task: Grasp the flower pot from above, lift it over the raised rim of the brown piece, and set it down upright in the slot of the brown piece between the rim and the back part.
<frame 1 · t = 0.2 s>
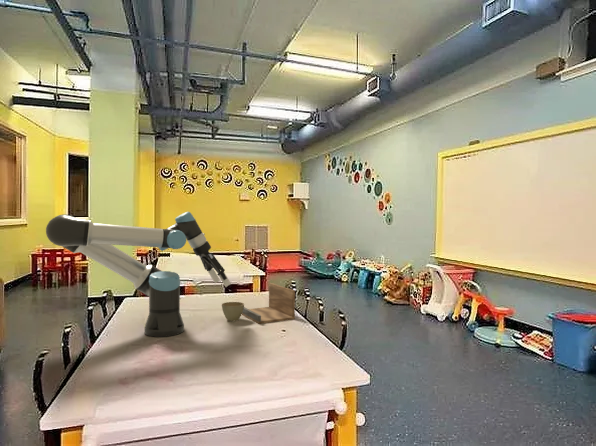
hand: (222, 283, 191), 15 cm above the table, tool tilted 30°, fingers open, 13 cm apart
flower pot: (232, 320, 186), on the table
brown piece: (265, 315, 194), on the table
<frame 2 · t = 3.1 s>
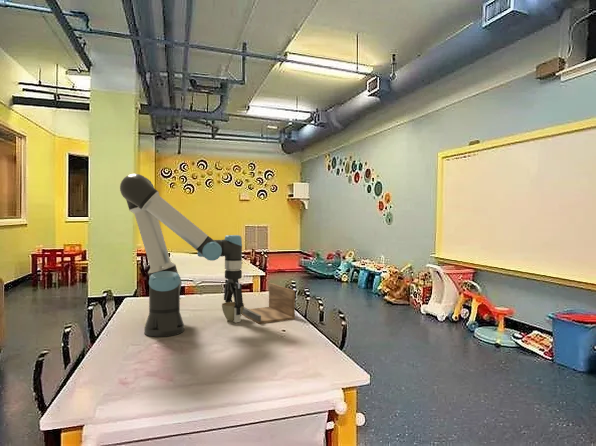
hand: (232, 319, 186), 0 cm above the table, tool pointing down, fingers closed on flower pot, 10 cm apart
flower pot: (232, 320, 186), on the table, touching gripper
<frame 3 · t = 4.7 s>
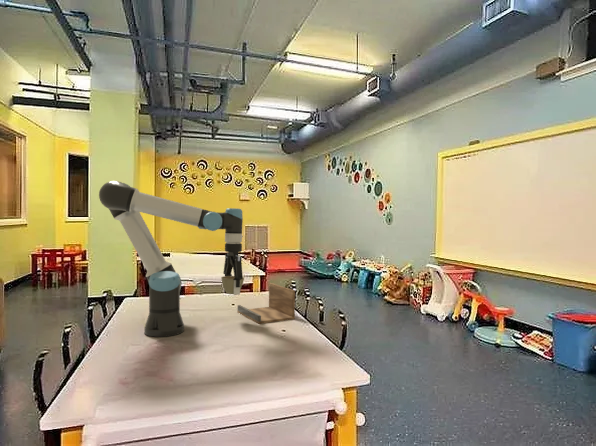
hand: (232, 292, 185), 12 cm above the table, tool pointing down, fingers closed on flower pot, 10 cm apart
flower pot: (232, 293, 185), point 12 cm above the table, touching gripper
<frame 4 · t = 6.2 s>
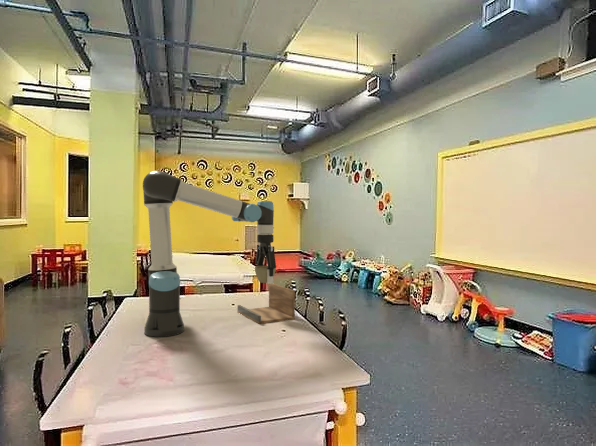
hand: (265, 281, 193), 16 cm above the table, tool pointing down, fingers closed on flower pot, 10 cm apart
flower pot: (265, 282, 193), point 16 cm above the table, touching gripper
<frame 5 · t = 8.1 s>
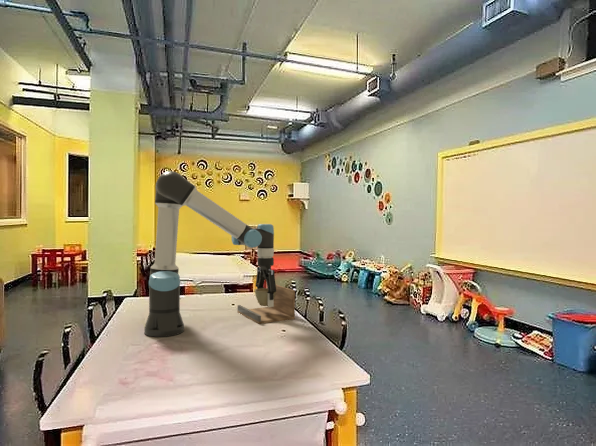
hand: (265, 304, 194), 5 cm above the table, tool pointing down, fingers closed on flower pot, 10 cm apart
flower pot: (265, 305, 194), point 5 cm above the table, touching gripper
when the fingers open (3 cm above the table, at t = 9.6 s): flower pot drops 1 cm, resting on brown piece.
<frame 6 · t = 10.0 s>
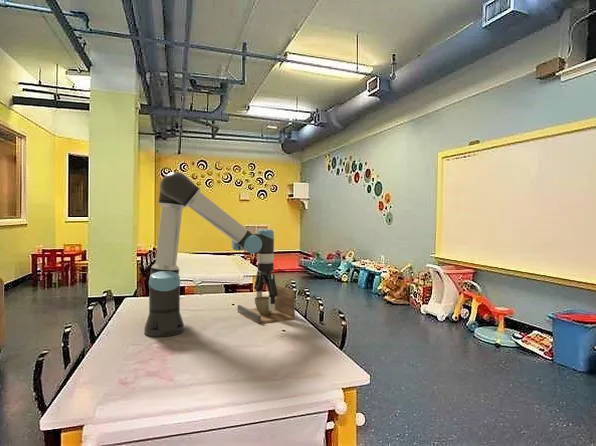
hand: (265, 307, 194), 4 cm above the table, tool pointing down, fingers open, 13 cm apart
flower pot: (265, 313, 194), point 1 cm above the table, touching brown piece
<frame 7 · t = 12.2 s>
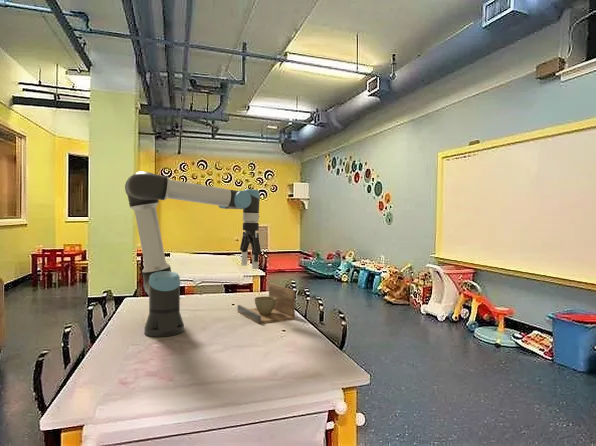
hand: (249, 267, 196), 22 cm above the table, tool pointing down, fingers open, 13 cm apart
nothing on the table moved.
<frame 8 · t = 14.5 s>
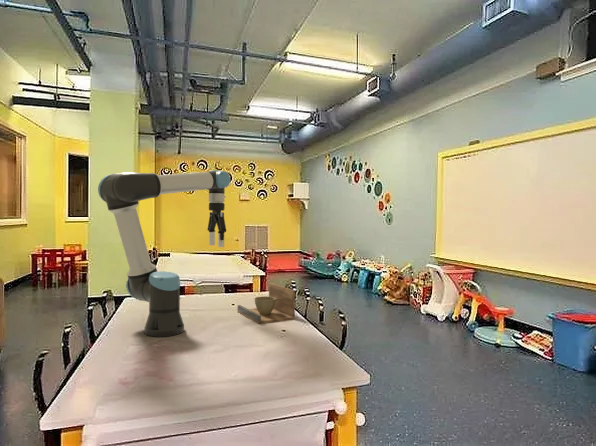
hand: (216, 246, 202), 32 cm above the table, tool pointing down, fingers open, 13 cm apart
nothing on the table moved.
at the end: flower pot inside the target area on the brown piece (0.1 cm from its centre), point 0.8 cm above the brown piece's base; flower pot tilted 0°; the gripper is holding nothing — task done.
